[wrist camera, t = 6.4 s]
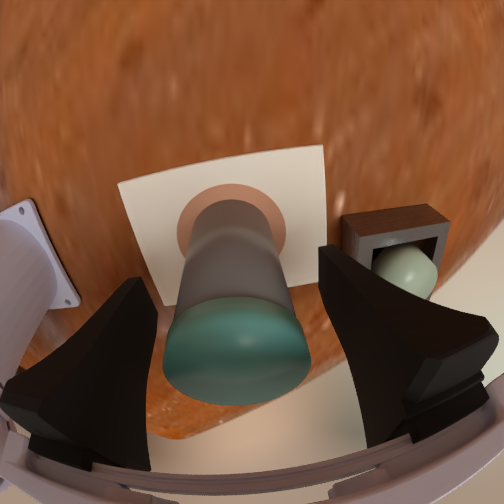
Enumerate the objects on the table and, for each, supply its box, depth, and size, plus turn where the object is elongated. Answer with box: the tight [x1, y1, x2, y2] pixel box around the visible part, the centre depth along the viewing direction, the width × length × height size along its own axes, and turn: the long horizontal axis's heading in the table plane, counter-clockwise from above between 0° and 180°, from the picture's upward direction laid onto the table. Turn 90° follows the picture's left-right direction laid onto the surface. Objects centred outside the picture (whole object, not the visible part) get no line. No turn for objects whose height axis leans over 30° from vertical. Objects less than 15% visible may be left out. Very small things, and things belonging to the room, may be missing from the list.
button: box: [371, 242, 437, 299], centre depth 14 cm, size 4×4×2 cm
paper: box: [117, 144, 327, 306], centre depth 14 cm, size 10×8×1 cm
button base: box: [341, 204, 450, 301], centre depth 15 cm, size 6×6×2 cm
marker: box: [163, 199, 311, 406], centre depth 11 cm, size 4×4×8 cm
